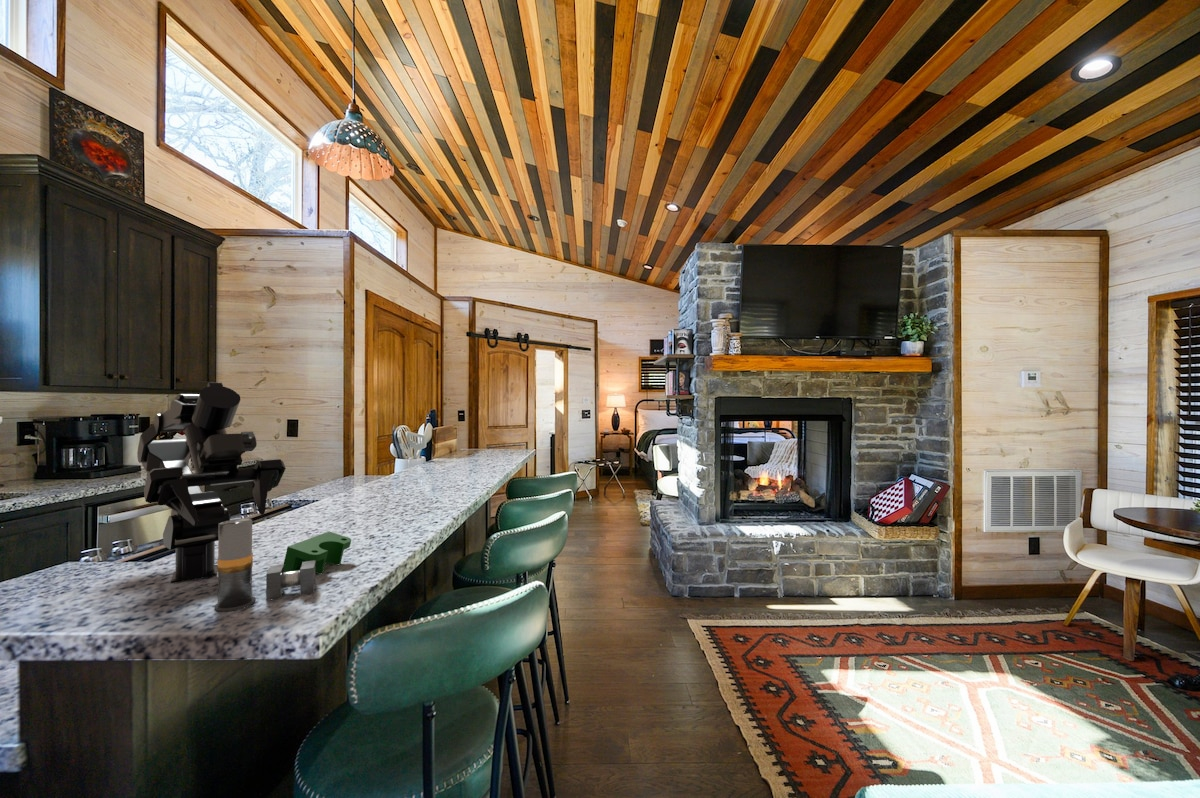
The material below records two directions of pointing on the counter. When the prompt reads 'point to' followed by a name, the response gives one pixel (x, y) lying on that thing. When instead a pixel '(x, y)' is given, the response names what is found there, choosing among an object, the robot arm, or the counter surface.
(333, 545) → the clamp
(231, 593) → the sleeve
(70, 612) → the counter surface
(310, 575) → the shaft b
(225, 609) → the pad
